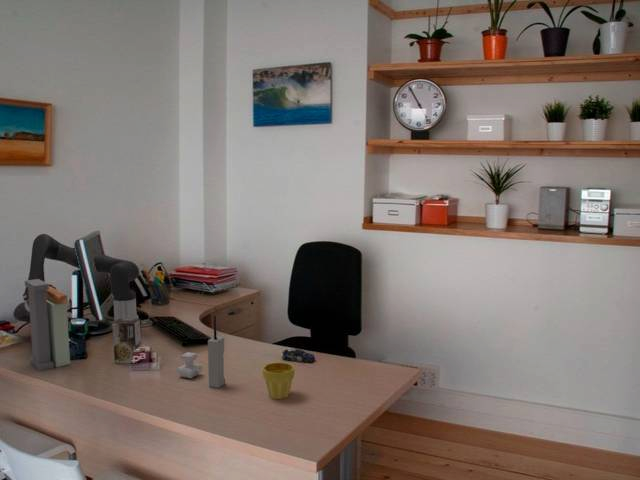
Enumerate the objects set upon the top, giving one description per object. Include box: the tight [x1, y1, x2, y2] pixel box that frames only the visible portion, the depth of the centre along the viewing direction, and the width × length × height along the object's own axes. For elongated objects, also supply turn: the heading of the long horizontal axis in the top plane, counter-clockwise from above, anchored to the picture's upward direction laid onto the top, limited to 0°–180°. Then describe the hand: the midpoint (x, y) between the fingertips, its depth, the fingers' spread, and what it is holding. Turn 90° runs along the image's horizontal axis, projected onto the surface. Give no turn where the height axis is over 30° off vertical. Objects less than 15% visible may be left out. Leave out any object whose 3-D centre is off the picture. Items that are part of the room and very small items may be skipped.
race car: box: [281, 348, 316, 364], centre depth 240 cm, size 15×7×4 cm, turn 78°
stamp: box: [176, 351, 203, 379], centre depth 222 cm, size 9×7×8 cm
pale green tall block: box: [46, 298, 71, 368], centre depth 236 cm, size 5×12×24 cm, turn 40°
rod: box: [46, 286, 68, 305], centre depth 235 cm, size 3×24×3 cm, turn 41°
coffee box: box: [111, 318, 143, 365], centre depth 237 cm, size 9×6×16 cm
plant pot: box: [262, 361, 295, 400], centre depth 204 cm, size 10×10×10 cm
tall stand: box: [24, 279, 55, 371], centre depth 232 cm, size 5×12×32 cm, turn 40°
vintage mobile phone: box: [207, 315, 226, 389], centre depth 212 cm, size 4×5×25 cm
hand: (46, 287), depth 240 cm, fingers closed on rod, 3 cm apart
